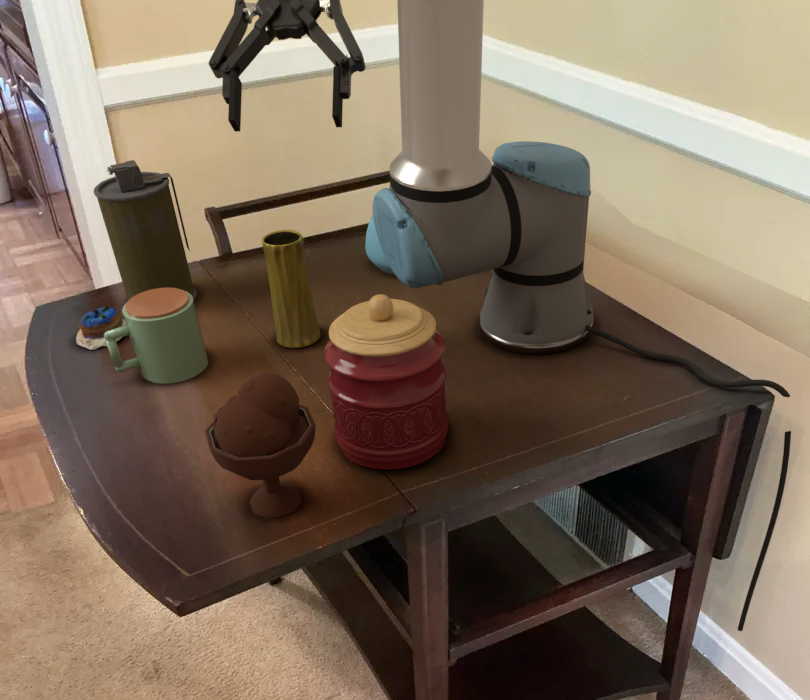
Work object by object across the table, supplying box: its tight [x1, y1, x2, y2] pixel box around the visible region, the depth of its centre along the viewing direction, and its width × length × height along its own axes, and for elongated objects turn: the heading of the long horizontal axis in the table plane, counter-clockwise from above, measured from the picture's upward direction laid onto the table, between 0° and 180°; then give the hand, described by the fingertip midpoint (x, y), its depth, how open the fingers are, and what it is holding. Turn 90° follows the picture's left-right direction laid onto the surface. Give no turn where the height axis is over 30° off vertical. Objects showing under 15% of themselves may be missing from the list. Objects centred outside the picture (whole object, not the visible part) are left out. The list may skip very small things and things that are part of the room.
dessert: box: [75, 305, 126, 351], centre depth 121 cm, size 8×7×6 cm
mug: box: [104, 288, 209, 385], centre depth 110 cm, size 9×12×9 cm
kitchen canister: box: [323, 293, 449, 471], centre depth 92 cm, size 13×13×18 cm
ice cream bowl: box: [204, 371, 317, 519], centre depth 85 cm, size 11×11×15 cm
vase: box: [261, 229, 321, 349], centre depth 113 cm, size 6×6×14 cm
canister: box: [93, 159, 197, 301], centre depth 123 cm, size 11×10×20 cm
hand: (285, 124), depth 109 cm, fingers open, 13 cm apart
